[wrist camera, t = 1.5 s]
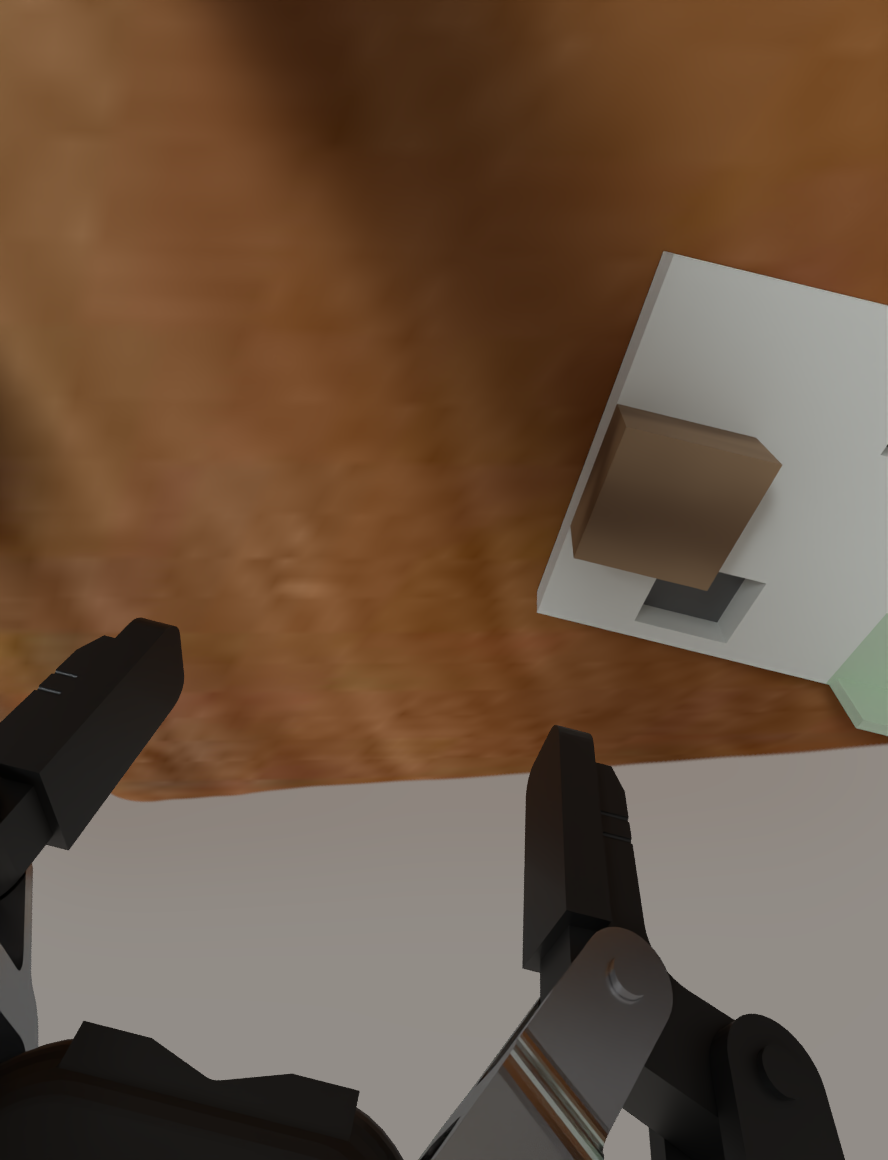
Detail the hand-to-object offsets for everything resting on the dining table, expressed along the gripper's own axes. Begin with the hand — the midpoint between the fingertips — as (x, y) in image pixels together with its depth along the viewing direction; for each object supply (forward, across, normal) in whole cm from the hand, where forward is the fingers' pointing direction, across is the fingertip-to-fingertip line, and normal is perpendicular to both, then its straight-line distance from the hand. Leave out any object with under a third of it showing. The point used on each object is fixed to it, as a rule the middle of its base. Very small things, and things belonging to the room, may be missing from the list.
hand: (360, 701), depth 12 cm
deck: (+18, -18, 0) cm, 26 cm away
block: (+16, -9, 0) cm, 19 cm away
